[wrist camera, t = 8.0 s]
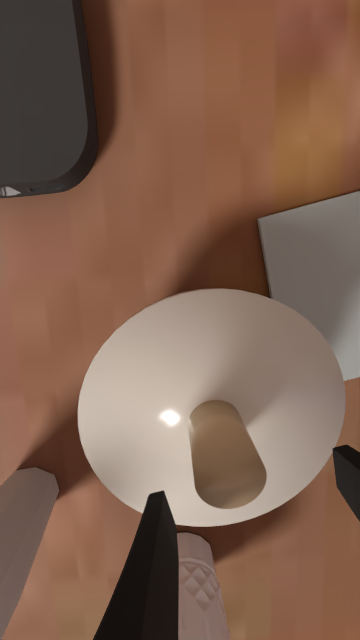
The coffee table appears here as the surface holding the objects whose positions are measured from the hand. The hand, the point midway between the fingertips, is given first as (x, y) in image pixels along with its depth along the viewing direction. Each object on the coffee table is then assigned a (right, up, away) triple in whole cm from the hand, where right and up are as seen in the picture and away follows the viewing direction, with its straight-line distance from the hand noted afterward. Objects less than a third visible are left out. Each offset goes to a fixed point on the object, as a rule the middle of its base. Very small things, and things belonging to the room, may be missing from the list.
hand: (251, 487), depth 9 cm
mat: (+12, +9, +9) cm, 18 cm away
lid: (-1, +2, +3) cm, 4 cm away
